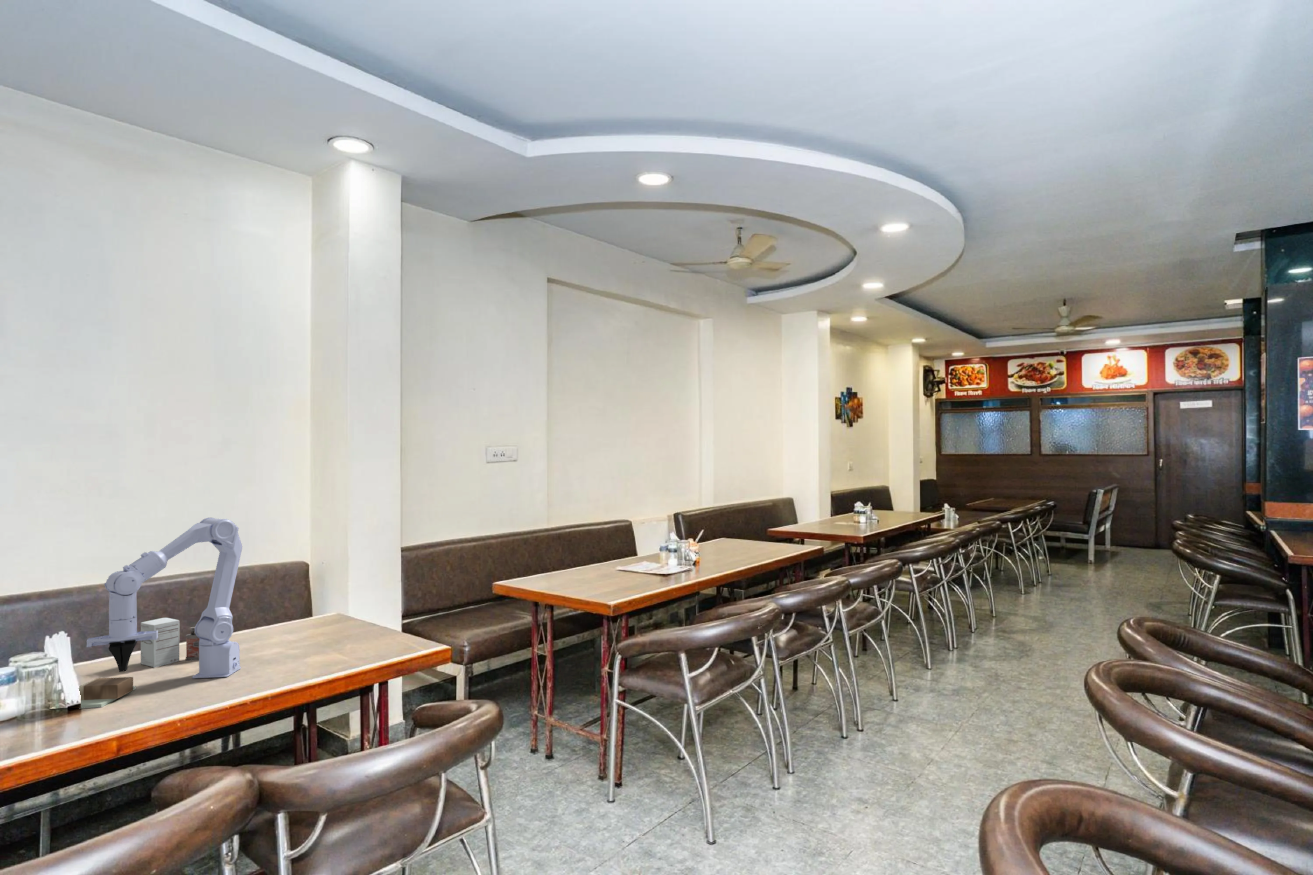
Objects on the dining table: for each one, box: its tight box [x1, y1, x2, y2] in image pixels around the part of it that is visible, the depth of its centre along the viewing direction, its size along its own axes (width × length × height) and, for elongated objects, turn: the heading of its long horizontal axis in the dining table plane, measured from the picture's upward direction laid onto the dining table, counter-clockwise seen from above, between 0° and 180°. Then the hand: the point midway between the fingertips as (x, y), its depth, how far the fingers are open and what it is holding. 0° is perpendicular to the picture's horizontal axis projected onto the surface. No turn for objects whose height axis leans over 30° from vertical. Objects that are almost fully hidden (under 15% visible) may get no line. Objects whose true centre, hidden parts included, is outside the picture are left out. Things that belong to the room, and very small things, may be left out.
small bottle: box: [185, 626, 200, 662], centre depth 211 cm, size 8×3×10 cm, turn 105°
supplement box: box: [140, 617, 180, 668], centre depth 207 cm, size 7×7×13 cm
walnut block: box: [78, 676, 134, 700], centre depth 178 cm, size 4×6×9 cm
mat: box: [80, 685, 137, 709], centre depth 177 cm, size 12×13×2 cm
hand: (123, 670), depth 178 cm, fingers closed
